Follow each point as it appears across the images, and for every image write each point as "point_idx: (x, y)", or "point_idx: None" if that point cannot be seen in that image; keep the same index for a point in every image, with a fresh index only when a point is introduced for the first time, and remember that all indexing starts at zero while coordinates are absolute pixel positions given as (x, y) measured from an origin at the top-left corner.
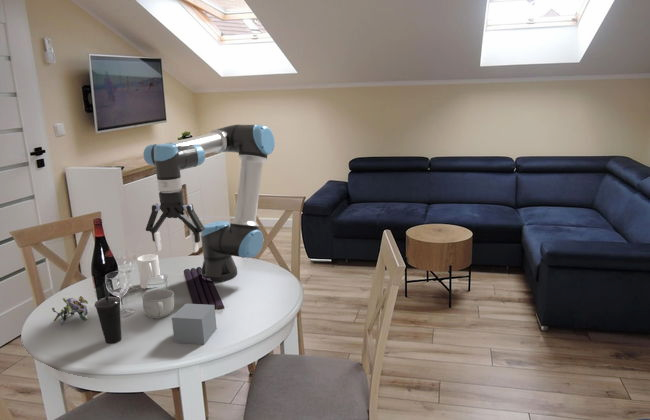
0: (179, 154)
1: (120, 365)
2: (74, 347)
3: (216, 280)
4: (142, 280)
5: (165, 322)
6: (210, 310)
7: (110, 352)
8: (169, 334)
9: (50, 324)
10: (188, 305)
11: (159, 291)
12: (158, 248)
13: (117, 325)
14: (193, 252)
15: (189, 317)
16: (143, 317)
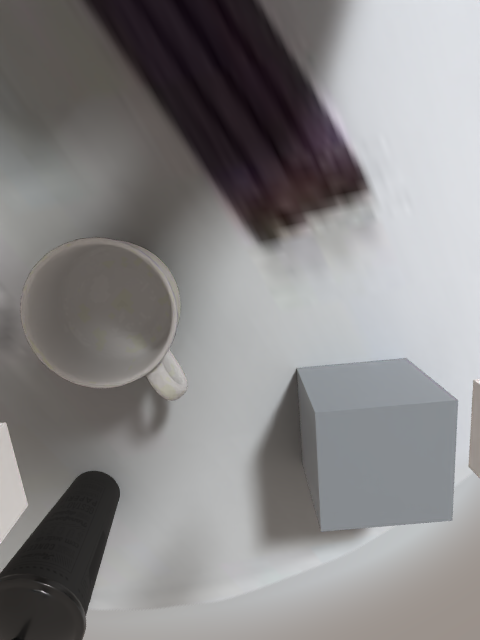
0: None
1: (216, 589)
2: (9, 546)
3: None
4: None
5: (190, 352)
6: (452, 438)
7: (140, 546)
8: (256, 424)
9: None
10: (338, 427)
11: (64, 253)
12: (6, 519)
13: (106, 542)
14: (470, 467)
15: (395, 517)
16: None
